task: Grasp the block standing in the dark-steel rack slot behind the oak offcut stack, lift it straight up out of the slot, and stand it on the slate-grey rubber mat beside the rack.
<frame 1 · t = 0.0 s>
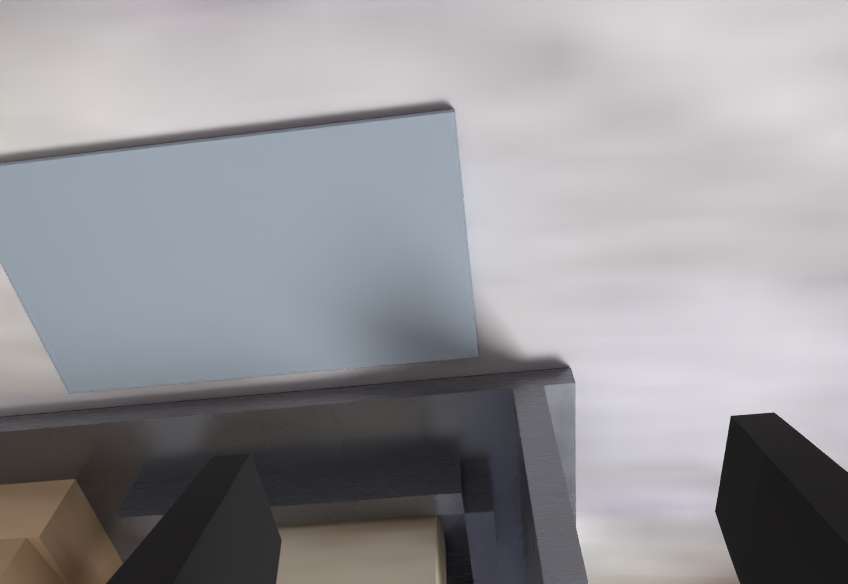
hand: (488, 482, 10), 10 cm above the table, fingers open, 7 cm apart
rack: (264, 514, 25), on the table
offcuts: (50, 546, 25), point 1 cm above the table, touching rack
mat: (238, 266, 20), on the table
block: (311, 527, 24), point 1 cm above the table, touching rack
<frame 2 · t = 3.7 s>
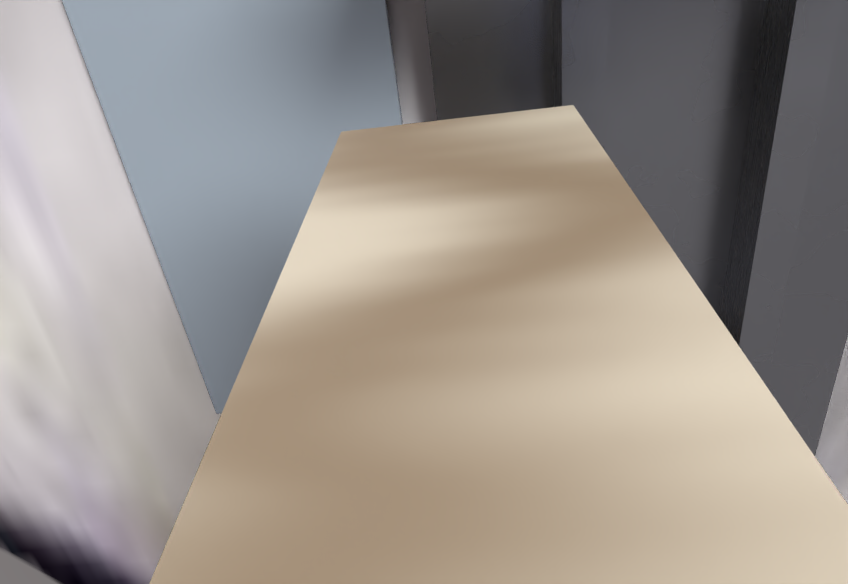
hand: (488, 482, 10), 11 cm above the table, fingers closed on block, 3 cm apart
rack: (650, 246, 19), on the table
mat: (282, 221, 19), on the table
block: (480, 378, 12), point 8 cm above the table, touching gripper
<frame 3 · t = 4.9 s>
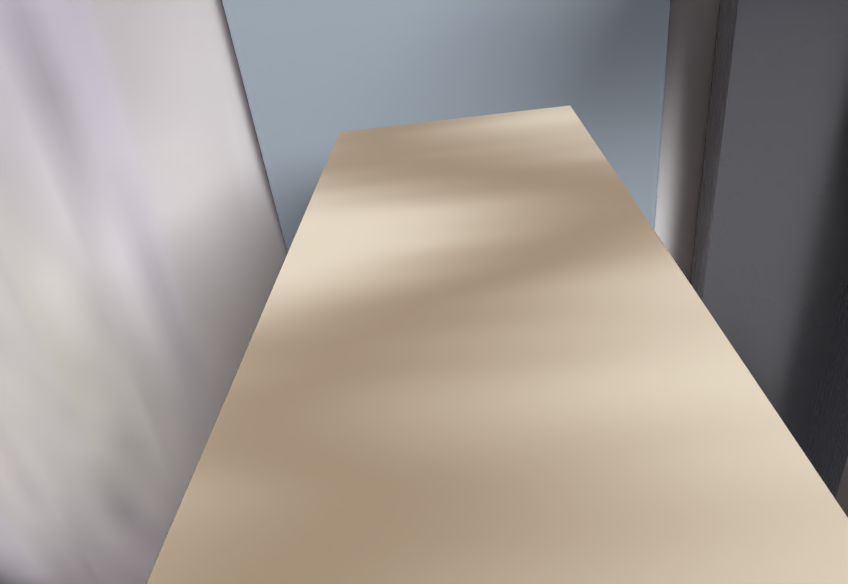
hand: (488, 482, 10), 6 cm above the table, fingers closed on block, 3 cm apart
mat: (472, 286, 15), on the table
block: (478, 377, 12), point 3 cm above the table, touching gripper
when the fingers open (4 cm above the table, at t = 5.7 s): block stays where it is, resting on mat.
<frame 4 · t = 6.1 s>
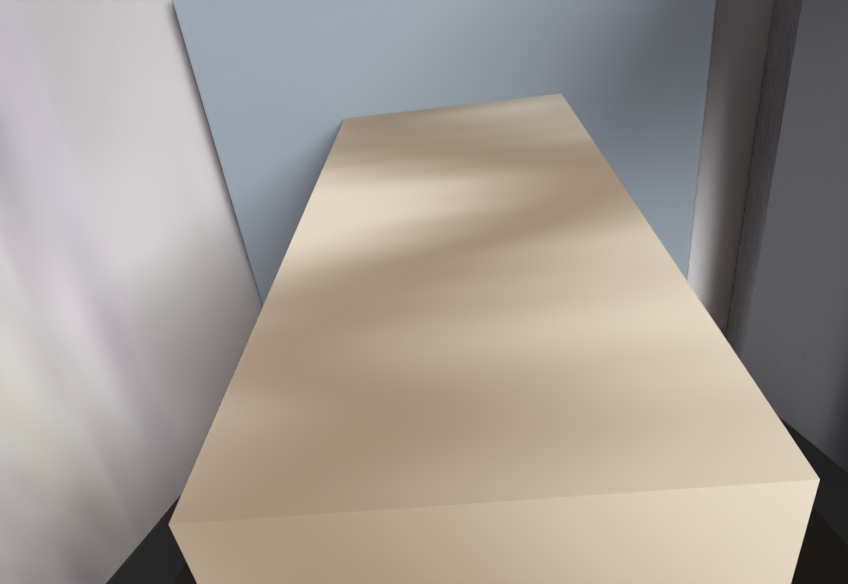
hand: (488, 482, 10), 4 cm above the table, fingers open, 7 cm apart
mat: (475, 342, 13), on the table
block: (475, 355, 13), resting on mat
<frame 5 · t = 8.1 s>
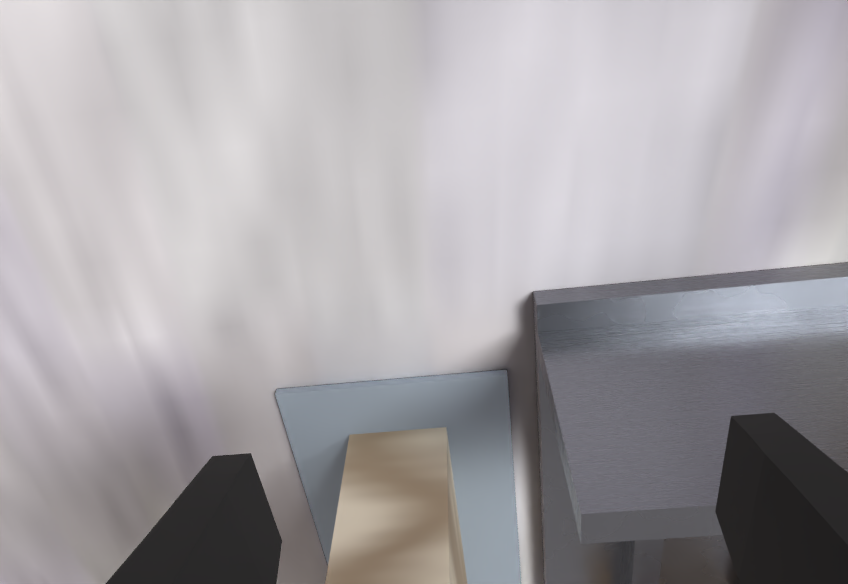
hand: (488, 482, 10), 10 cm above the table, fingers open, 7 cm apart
rack: (692, 531, 26), on the table
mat: (415, 516, 26), on the table
block: (415, 524, 25), resting on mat
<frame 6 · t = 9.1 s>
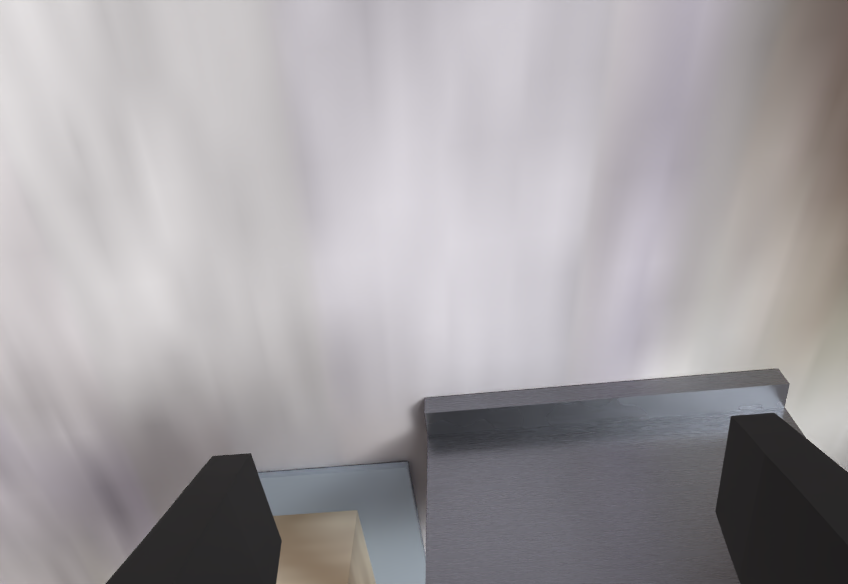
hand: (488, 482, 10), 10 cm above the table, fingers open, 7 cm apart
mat: (338, 583, 28), on the table
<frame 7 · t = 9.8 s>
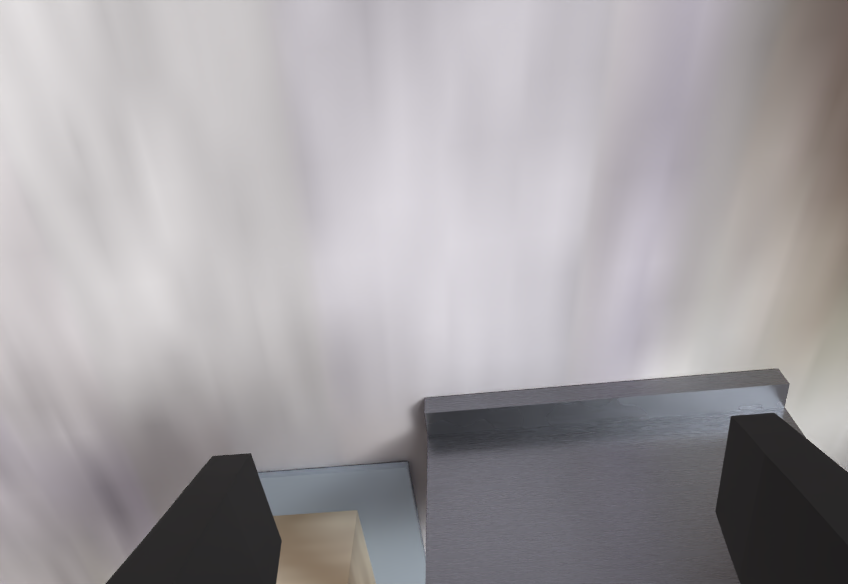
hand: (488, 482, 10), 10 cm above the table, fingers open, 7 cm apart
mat: (338, 583, 28), on the table
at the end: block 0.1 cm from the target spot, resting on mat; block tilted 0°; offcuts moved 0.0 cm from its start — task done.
